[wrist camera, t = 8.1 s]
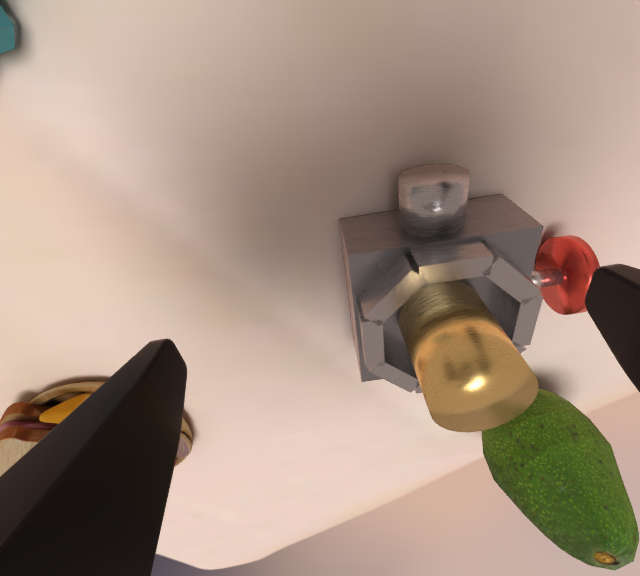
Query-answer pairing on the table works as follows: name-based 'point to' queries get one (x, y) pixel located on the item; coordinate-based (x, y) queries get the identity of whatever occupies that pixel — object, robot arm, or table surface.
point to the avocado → (565, 481)
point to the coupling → (464, 359)
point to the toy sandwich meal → (53, 421)
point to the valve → (453, 265)
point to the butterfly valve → (6, 32)
